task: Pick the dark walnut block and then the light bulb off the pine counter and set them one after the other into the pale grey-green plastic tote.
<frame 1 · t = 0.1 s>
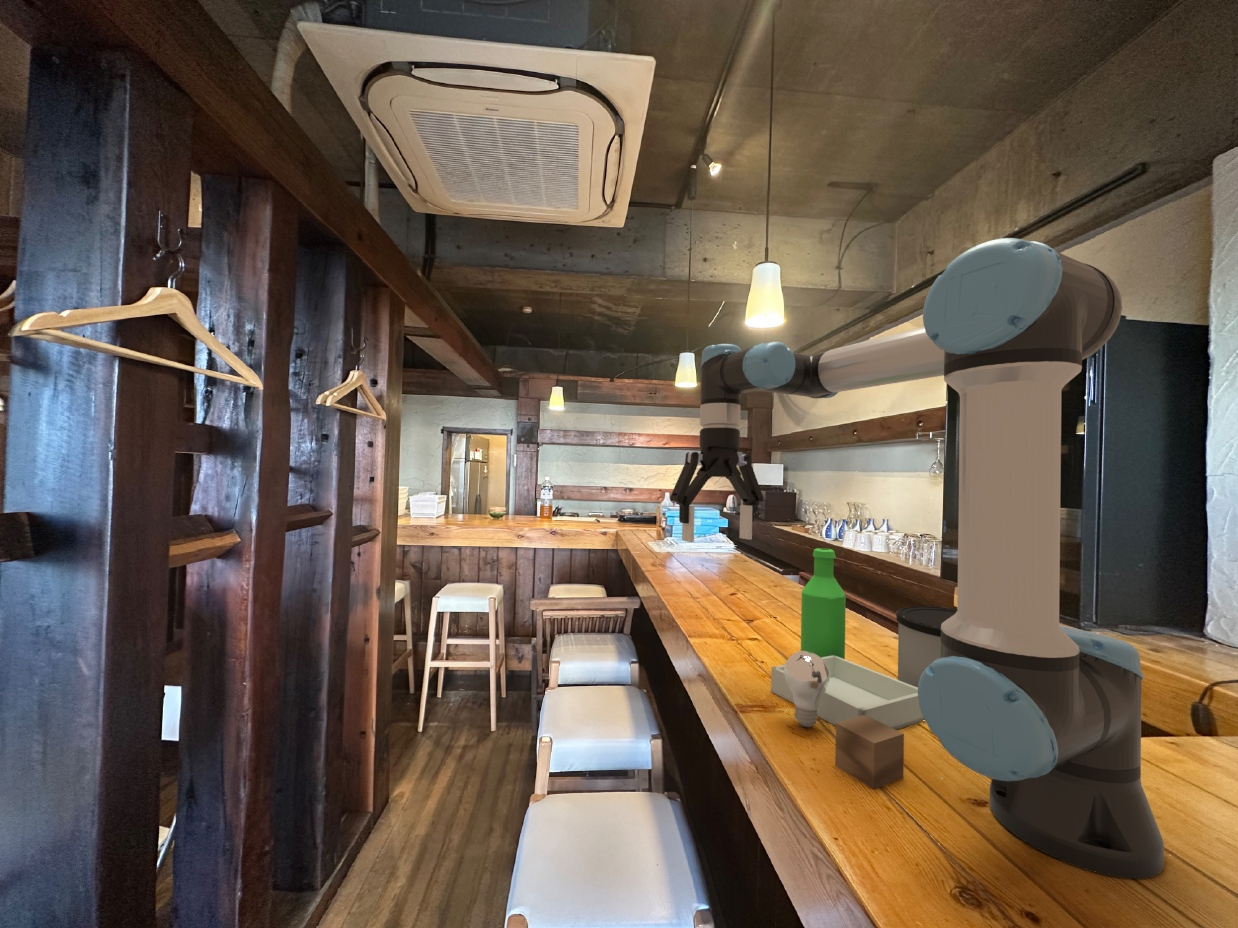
hand: (717, 540, 98), 28 cm above the bar counter, fingers open, 13 cm apart
walnut block: (868, 772, 71), on the bar counter
container: (953, 701, 95), on the bar counter
bottle: (822, 667, 111), on the bar counter
light bulb: (805, 727, 84), on the bar counter
tote: (845, 704, 92), on the bar counter
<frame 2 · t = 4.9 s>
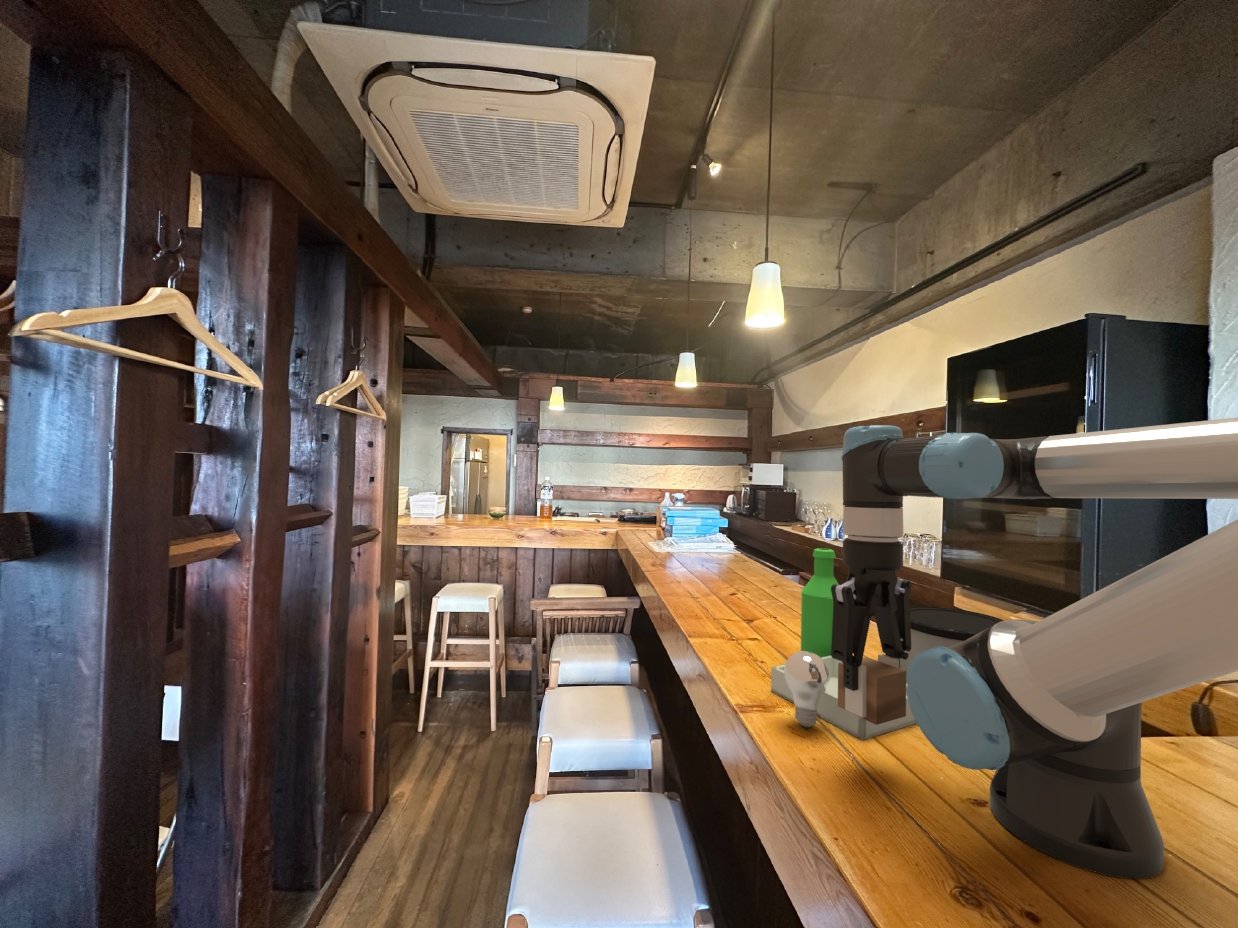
hand: (872, 708, 71), 9 cm above the bar counter, fingers closed on walnut block, 6 cm apart
walnut block: (871, 711, 71), point 8 cm above the bar counter, touching gripper
everything else where it was.
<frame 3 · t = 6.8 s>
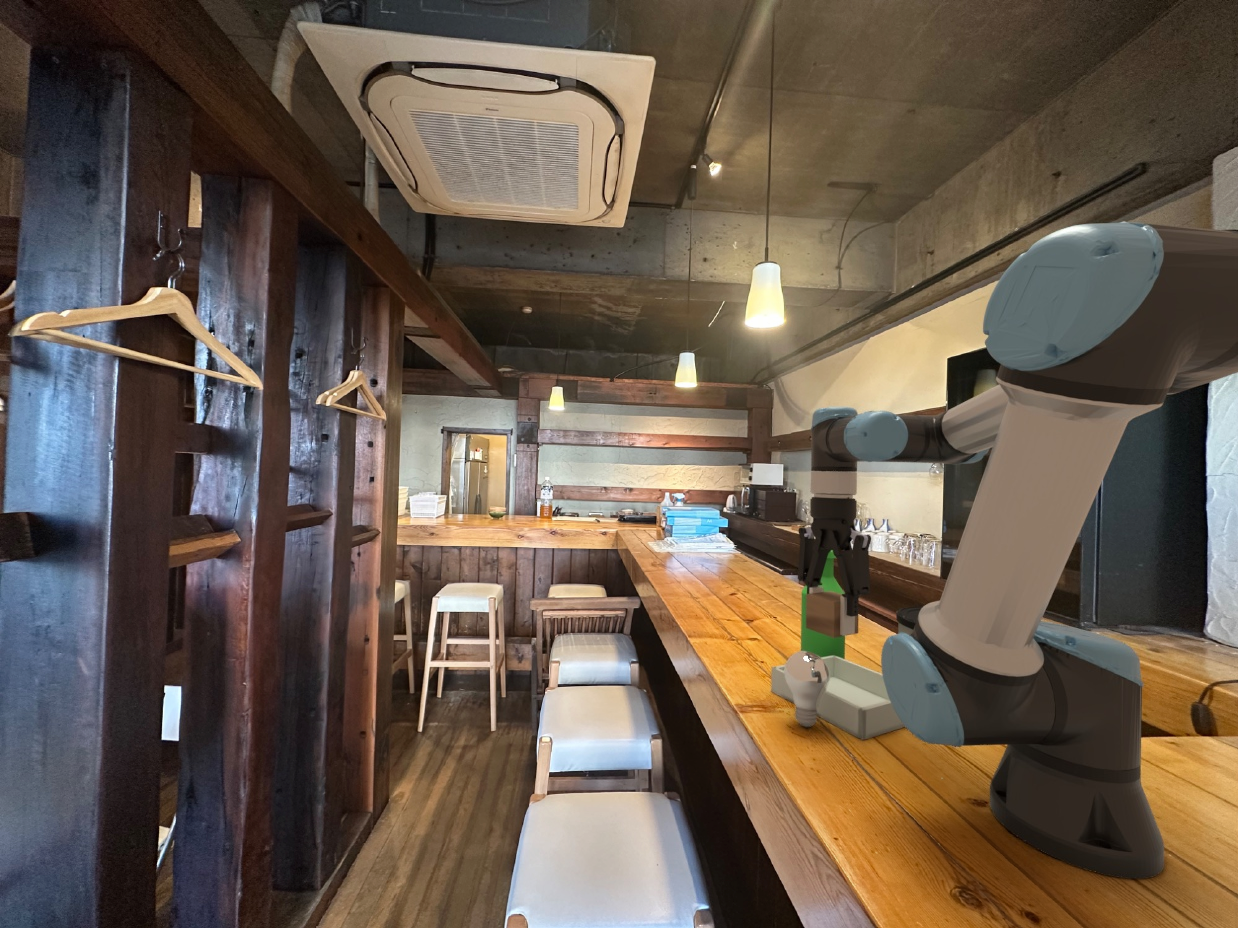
hand: (831, 628, 91), 14 cm above the bar counter, fingers closed on walnut block, 6 cm apart
walnut block: (831, 630, 91), point 13 cm above the bar counter, touching gripper
everything else where it was.
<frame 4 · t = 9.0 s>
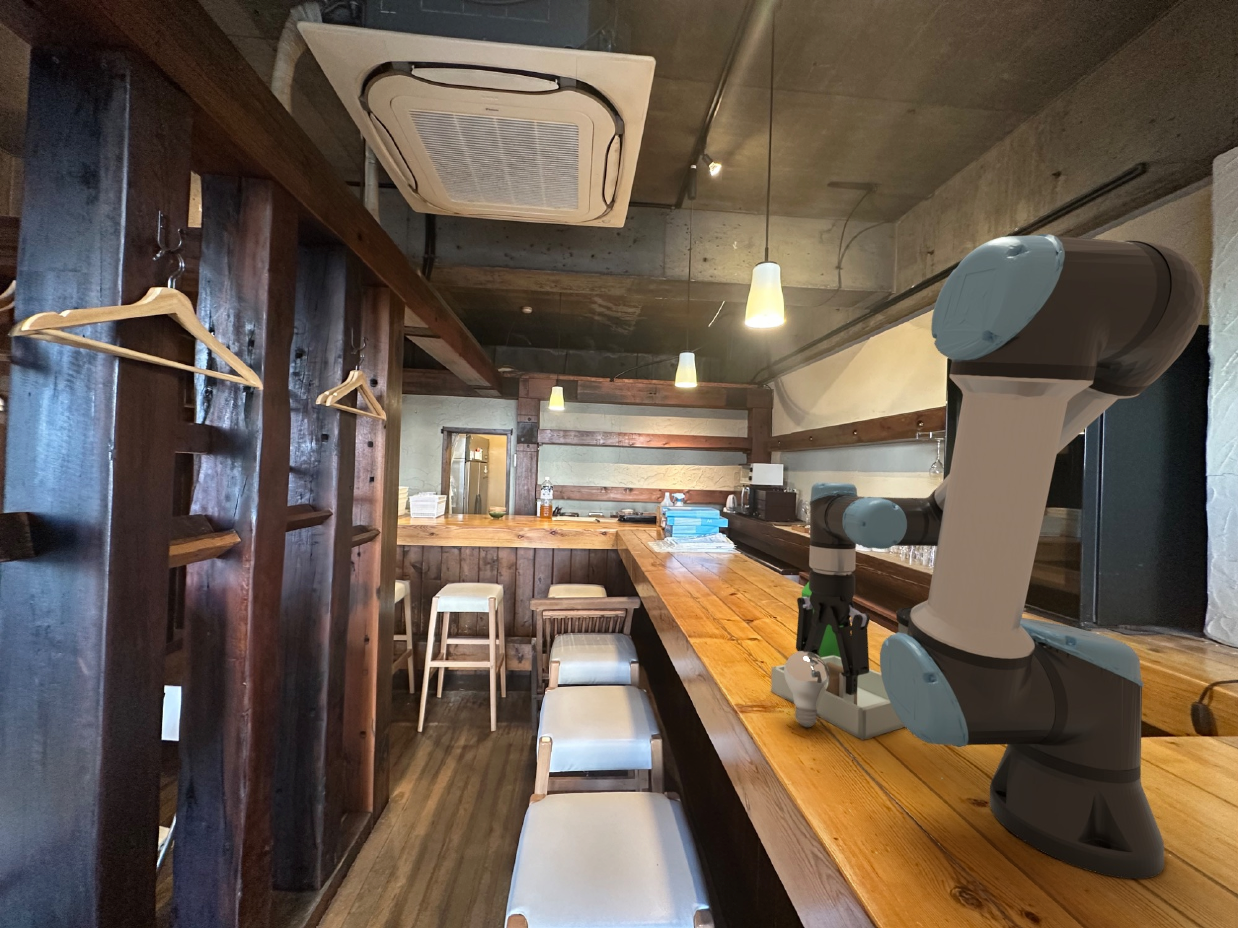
hand: (829, 702, 91), 1 cm above the bar counter, fingers closed on walnut block, 6 cm apart
walnut block: (830, 704, 91), point 1 cm above the bar counter, touching gripper, tote
everything else where it was.
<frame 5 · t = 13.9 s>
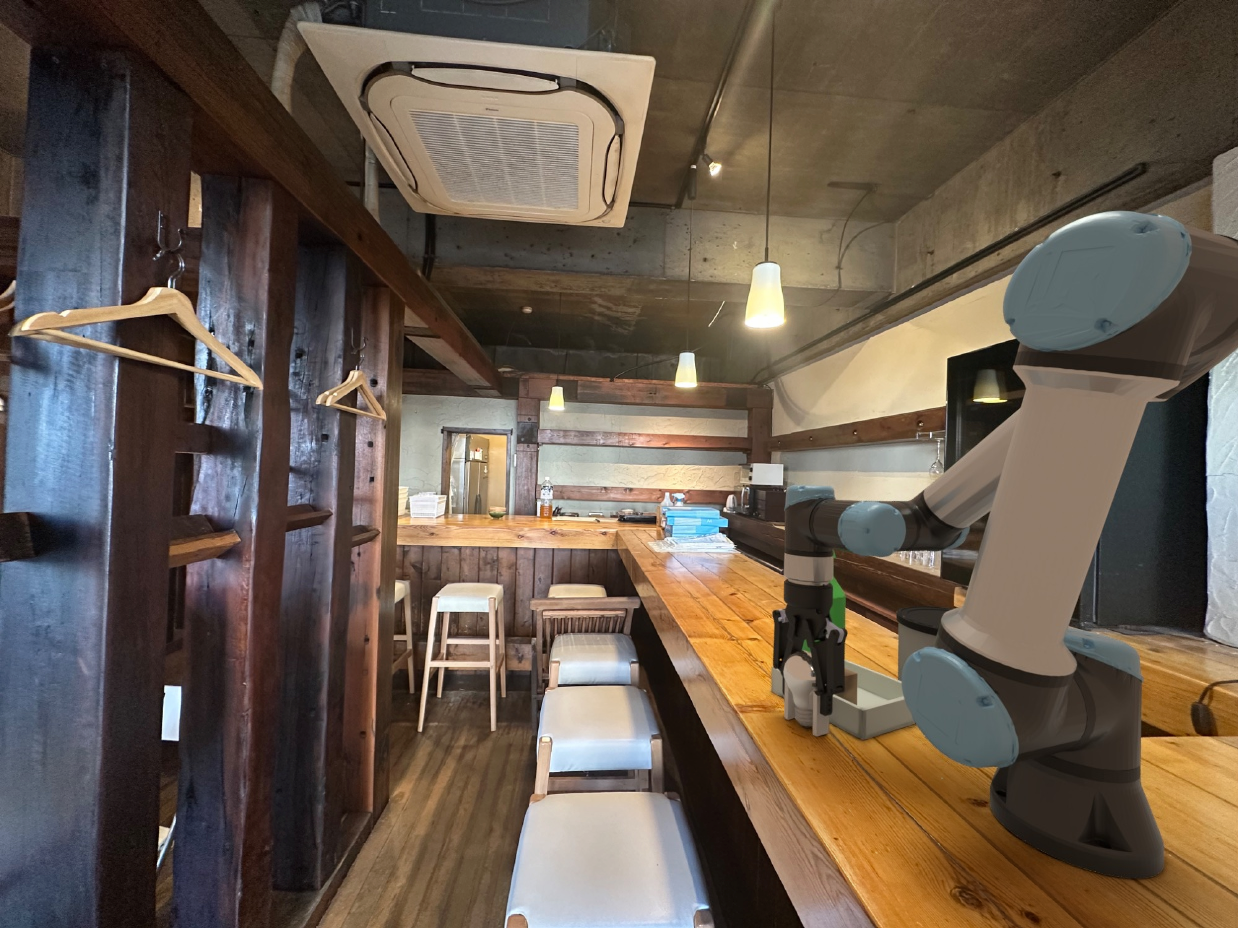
hand: (805, 724, 84), 0 cm above the bar counter, fingers closed on light bulb, 5 cm apart
walnut block: (830, 704, 91), point 1 cm above the bar counter, touching tote
light bulb: (805, 727, 84), on the bar counter, touching gripper
everything else where it was.
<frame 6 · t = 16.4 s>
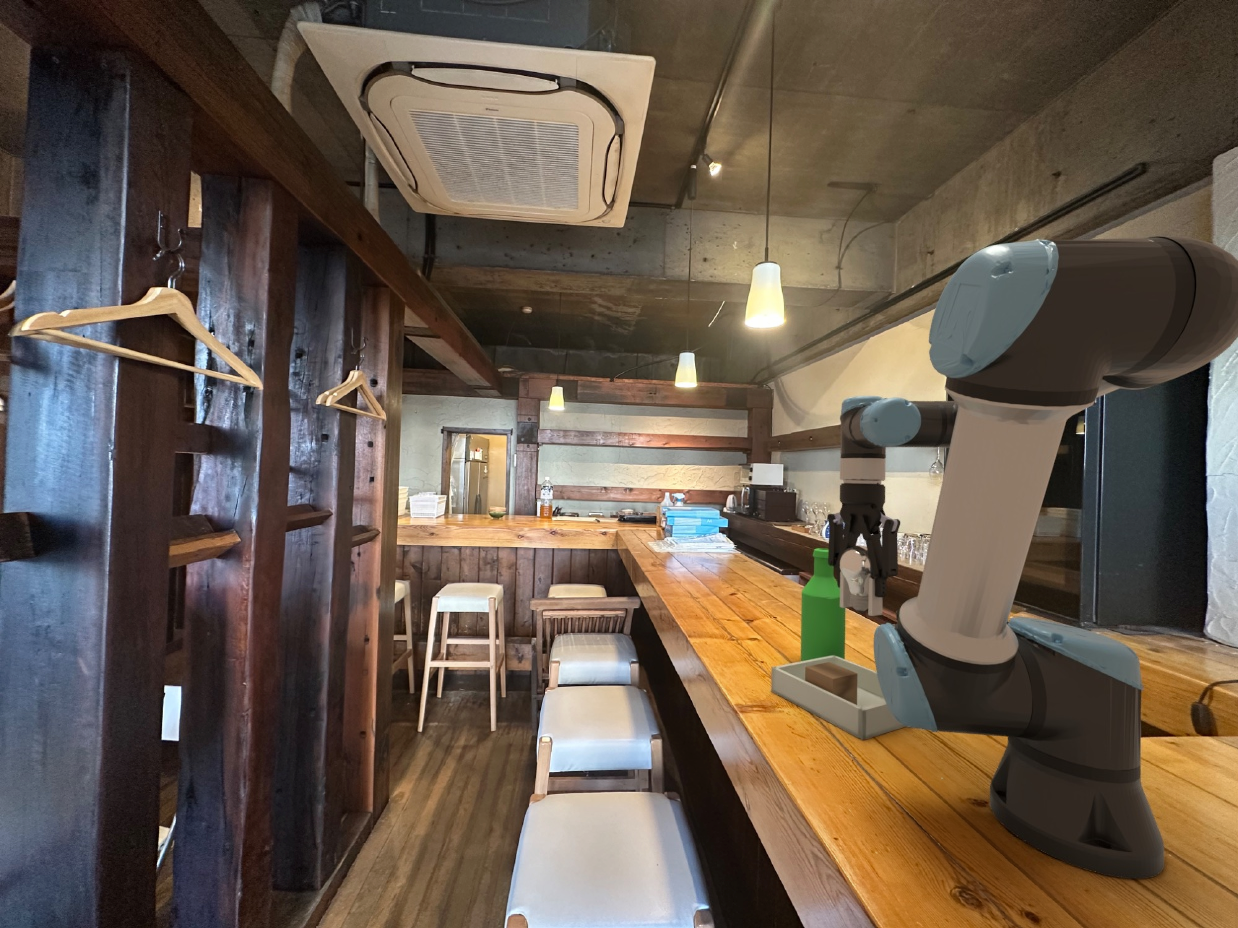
hand: (860, 610, 94), 16 cm above the bar counter, fingers closed on light bulb, 5 cm apart
light bulb: (860, 612, 94), point 16 cm above the bar counter, touching gripper
everything else where it was.
when the fingers open (2 cm above the bar counter, at t = 19.2 s): light bulb drops 1 cm, resting on tote.
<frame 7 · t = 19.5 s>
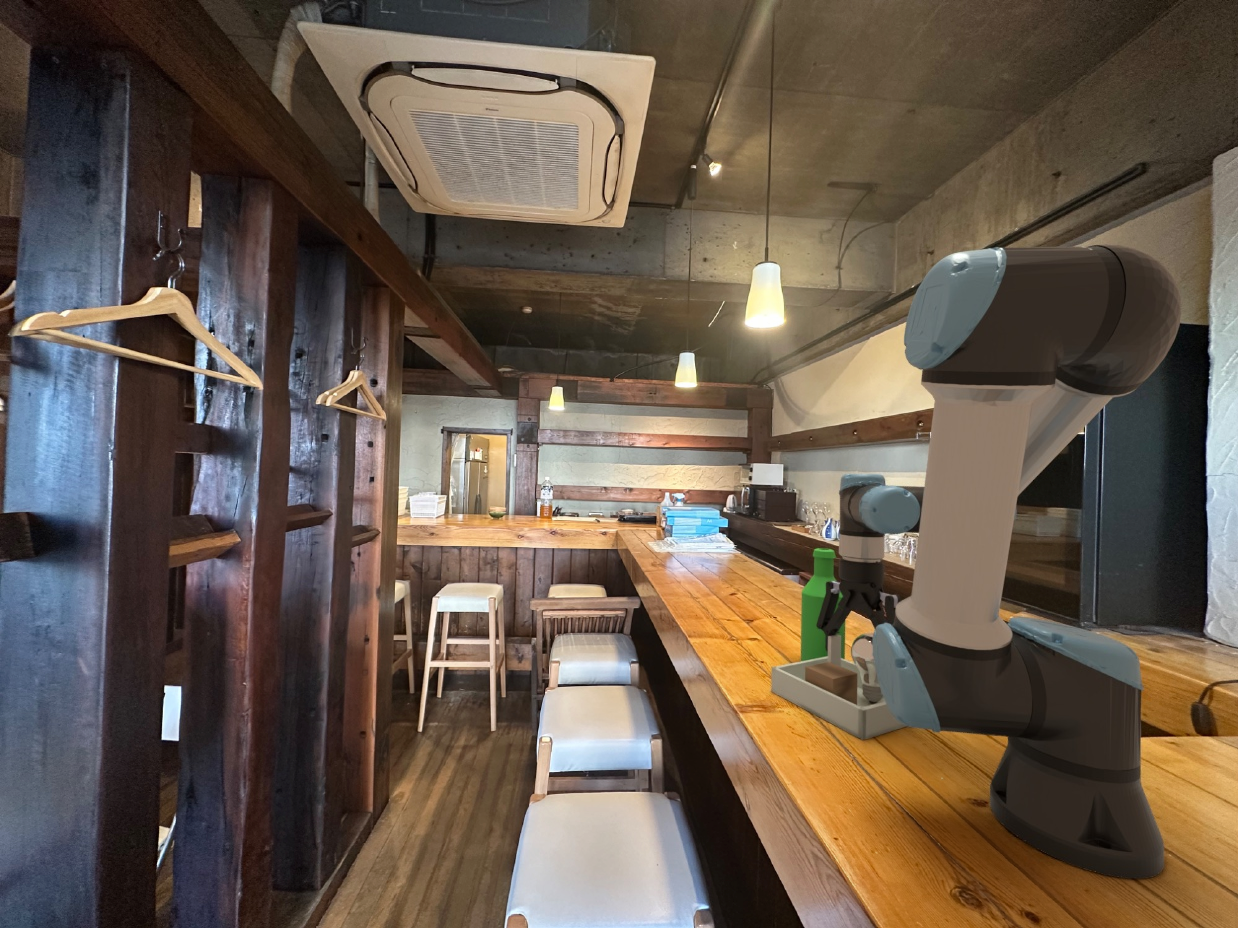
hand: (859, 681, 94), 4 cm above the bar counter, fingers open, 10 cm apart
light bulb: (872, 703, 92), resting on tote, touching gripper
everything else where it was.
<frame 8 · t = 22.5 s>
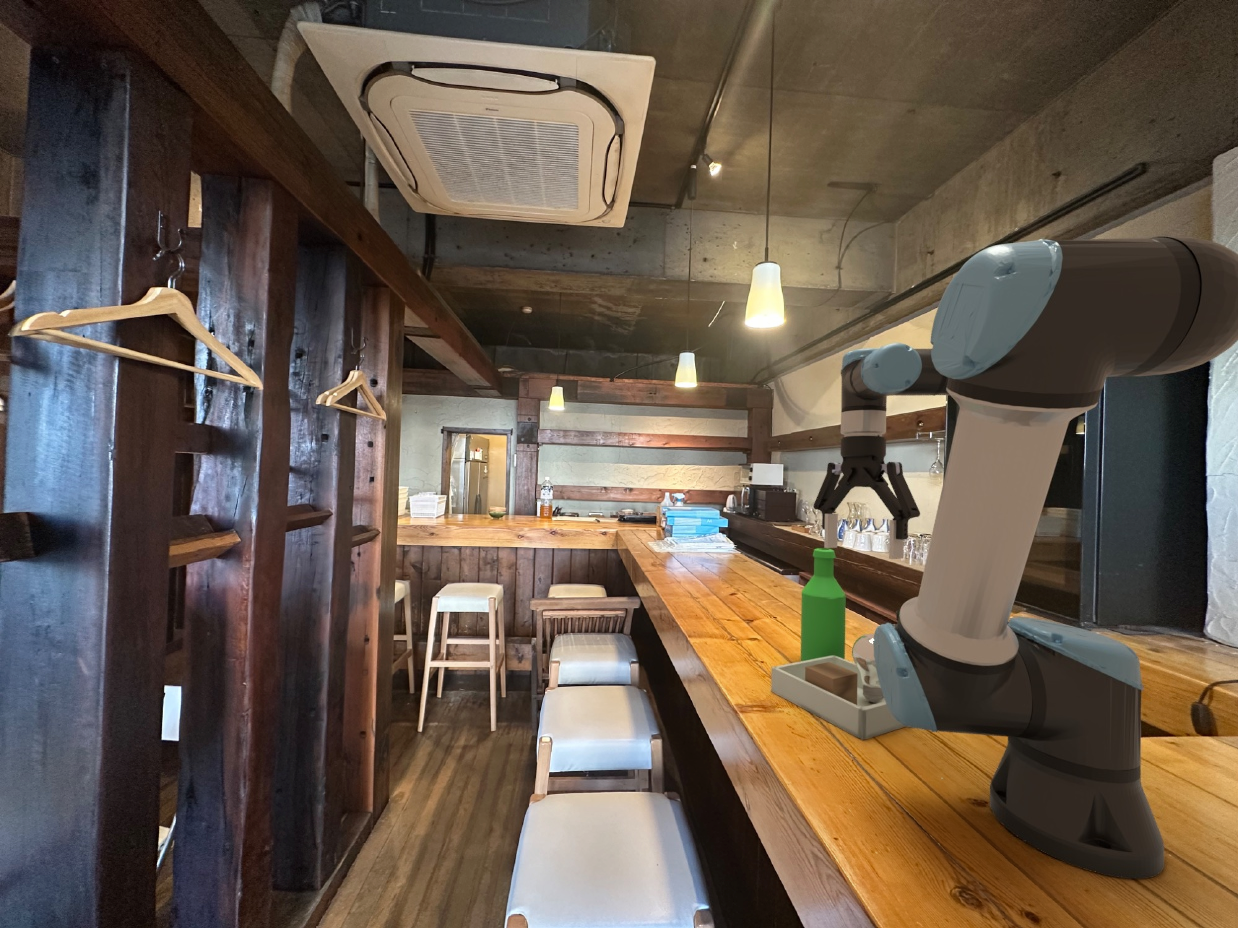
hand: (861, 552, 94), 27 cm above the bar counter, fingers open, 13 cm apart
light bulb: (872, 703, 92), resting on tote
everything else where it was.
at the end: walnut block inside the target area on the tote (3.7 cm from its centre), point 0.6 cm above the tote's base; light bulb inside the target area on the tote (4.6 cm from its centre), point 0.4 cm above the tote's base; the gripper is holding nothing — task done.
